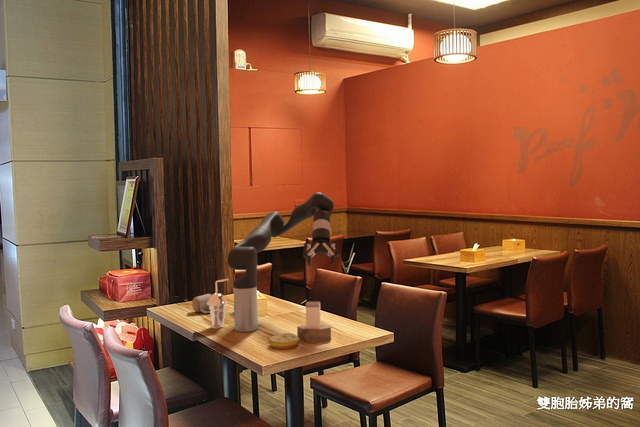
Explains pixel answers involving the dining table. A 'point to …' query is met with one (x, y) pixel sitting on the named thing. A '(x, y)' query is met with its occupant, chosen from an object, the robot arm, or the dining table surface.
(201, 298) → the ceramic mug
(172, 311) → the dining table surface
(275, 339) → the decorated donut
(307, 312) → the canister
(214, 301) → the cup with straw
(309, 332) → the walnut block
